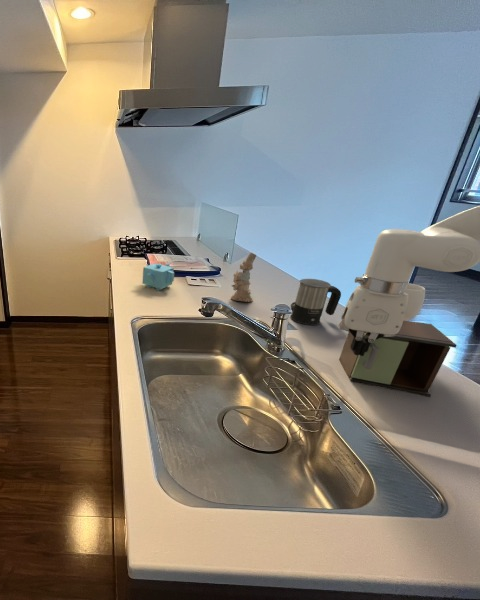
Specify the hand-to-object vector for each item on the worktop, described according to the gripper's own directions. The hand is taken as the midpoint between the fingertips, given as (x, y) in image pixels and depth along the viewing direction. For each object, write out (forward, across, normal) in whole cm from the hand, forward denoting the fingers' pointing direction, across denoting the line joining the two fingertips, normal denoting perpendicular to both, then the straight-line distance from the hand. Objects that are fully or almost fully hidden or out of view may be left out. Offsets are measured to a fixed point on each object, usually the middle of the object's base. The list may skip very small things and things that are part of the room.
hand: (357, 352), depth 80 cm
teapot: (+10, -60, +56) cm, 83 cm away
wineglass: (+10, +16, +26) cm, 32 cm away
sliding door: (+9, +6, +1) cm, 10 cm away
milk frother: (+10, -3, +44) cm, 45 cm away
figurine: (+10, -24, +53) cm, 59 cm away
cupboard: (+10, +10, +9) cm, 16 cm away
